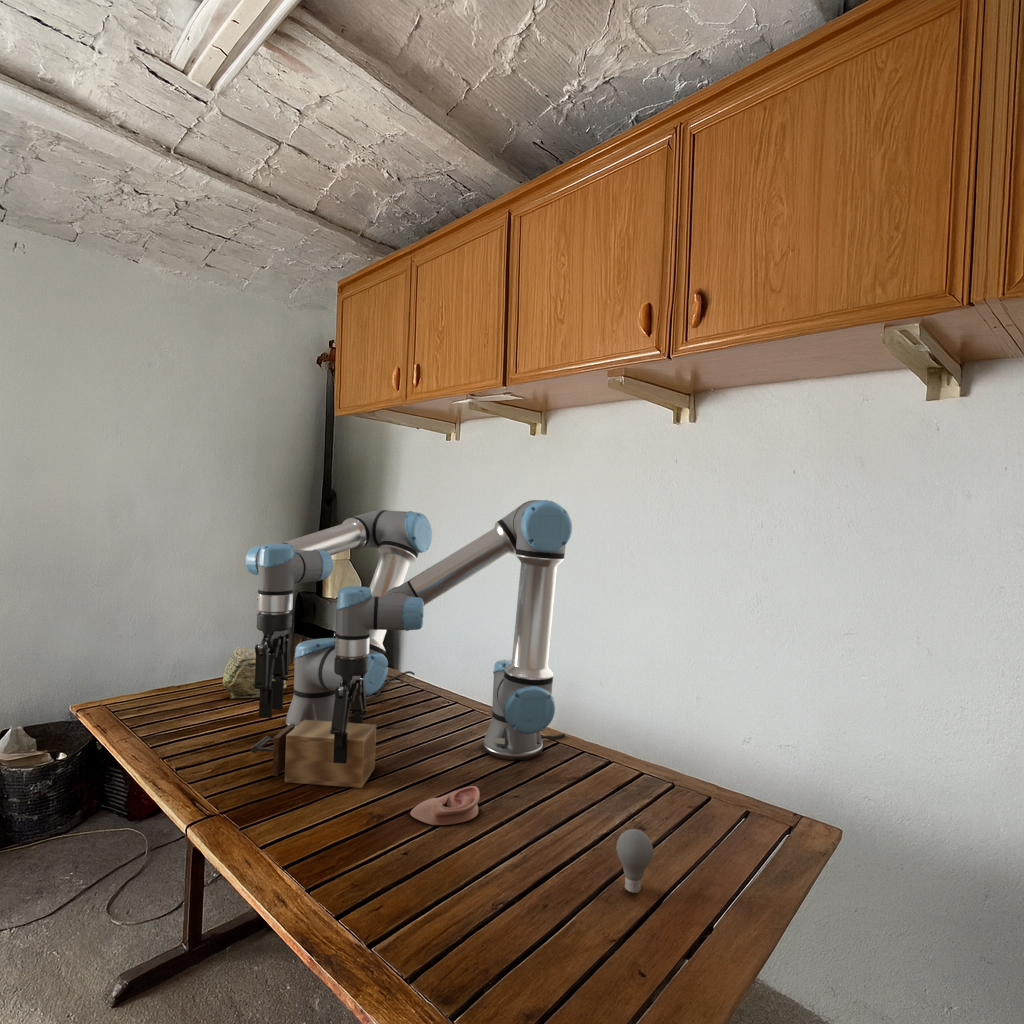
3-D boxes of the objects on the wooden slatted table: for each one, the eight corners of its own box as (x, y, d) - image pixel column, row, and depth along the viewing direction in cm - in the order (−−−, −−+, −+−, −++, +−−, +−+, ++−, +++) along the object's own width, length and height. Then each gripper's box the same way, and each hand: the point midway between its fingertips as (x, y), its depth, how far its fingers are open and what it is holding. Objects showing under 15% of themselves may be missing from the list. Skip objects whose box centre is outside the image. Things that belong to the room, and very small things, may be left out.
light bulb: (610, 879, 108) (613, 822, 108) (644, 879, 109) (647, 822, 109) (619, 902, 102) (622, 840, 102) (655, 901, 103) (658, 840, 103)
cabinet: (284, 782, 140) (286, 735, 140) (302, 763, 150) (304, 719, 150) (361, 788, 138) (363, 740, 138) (374, 768, 149) (376, 724, 148)
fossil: (218, 695, 195) (220, 647, 195) (278, 685, 208) (279, 640, 207) (228, 703, 189) (230, 653, 188) (289, 692, 201) (290, 645, 201)
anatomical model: (405, 801, 125) (424, 776, 136) (404, 821, 125) (423, 795, 136) (470, 810, 122) (484, 785, 133) (469, 831, 122) (483, 803, 133)
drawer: (247, 774, 141) (248, 735, 141) (265, 757, 150) (266, 721, 150) (343, 781, 139) (345, 742, 139) (356, 764, 148) (357, 728, 148)
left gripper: (276, 604, 154) (272, 699, 154) (239, 618, 136) (235, 725, 136) (306, 606, 153) (302, 701, 154) (273, 620, 135) (269, 728, 136)
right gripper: (351, 643, 155) (348, 733, 155) (316, 667, 132) (312, 772, 133) (381, 645, 154) (378, 735, 155) (351, 669, 132) (347, 775, 132)
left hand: (271, 712), depth 145 cm, fingers open, 5 cm apart
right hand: (348, 752), depth 144 cm, fingers closed on cabinet, 10 cm apart
